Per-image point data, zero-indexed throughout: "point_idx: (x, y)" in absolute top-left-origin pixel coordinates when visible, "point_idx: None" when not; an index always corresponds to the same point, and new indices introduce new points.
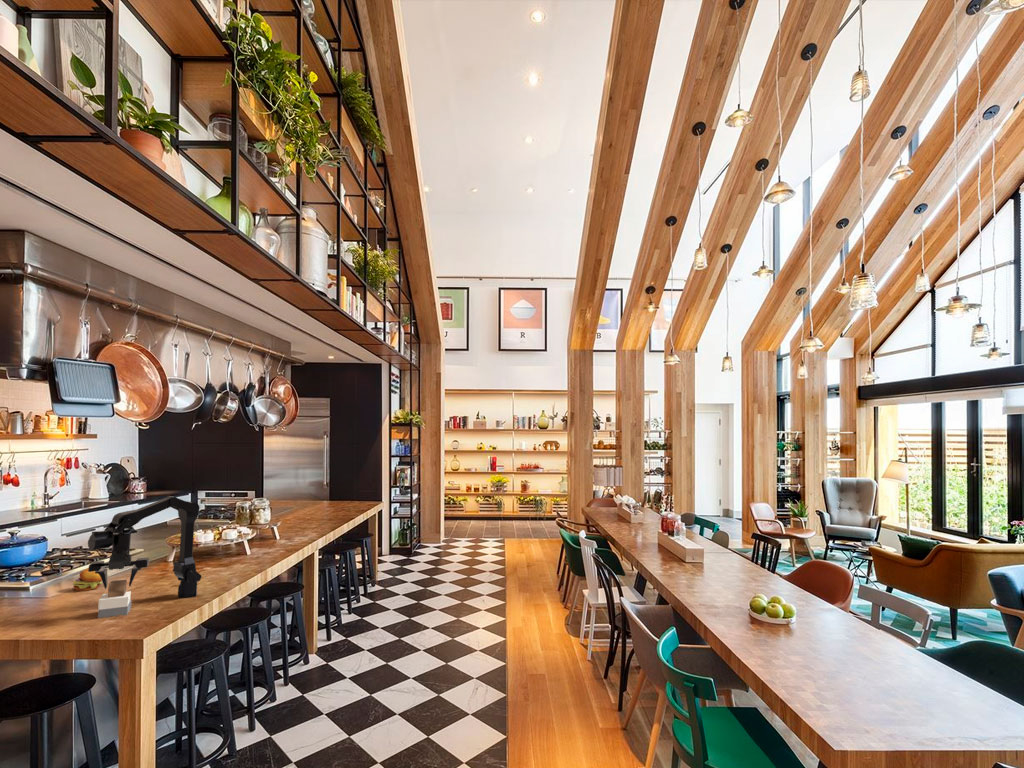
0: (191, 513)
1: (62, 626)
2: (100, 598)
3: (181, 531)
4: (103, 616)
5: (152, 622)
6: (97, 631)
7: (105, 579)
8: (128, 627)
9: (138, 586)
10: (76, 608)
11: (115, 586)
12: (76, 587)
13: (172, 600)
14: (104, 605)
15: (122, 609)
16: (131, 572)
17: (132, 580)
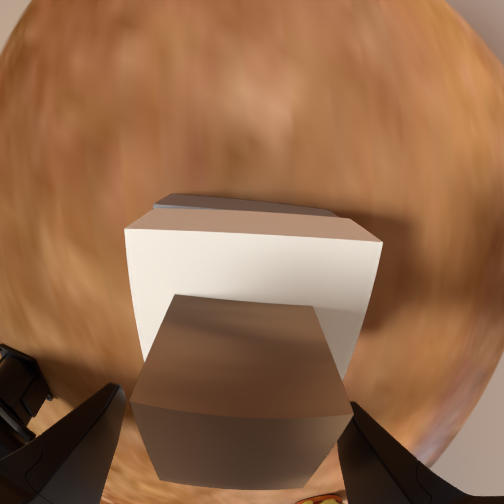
0: None
1: (458, 154)
2: (366, 300)
3: None
4: (302, 208)
5: (70, 8)
6: None
7: (394, 477)
8: None
9: (207, 495)
10: (378, 405)
11: (256, 380)
12: (339, 500)
13: (43, 348)
14: (321, 224)
15: (189, 201)
16: (20, 502)
17: (64, 417)
